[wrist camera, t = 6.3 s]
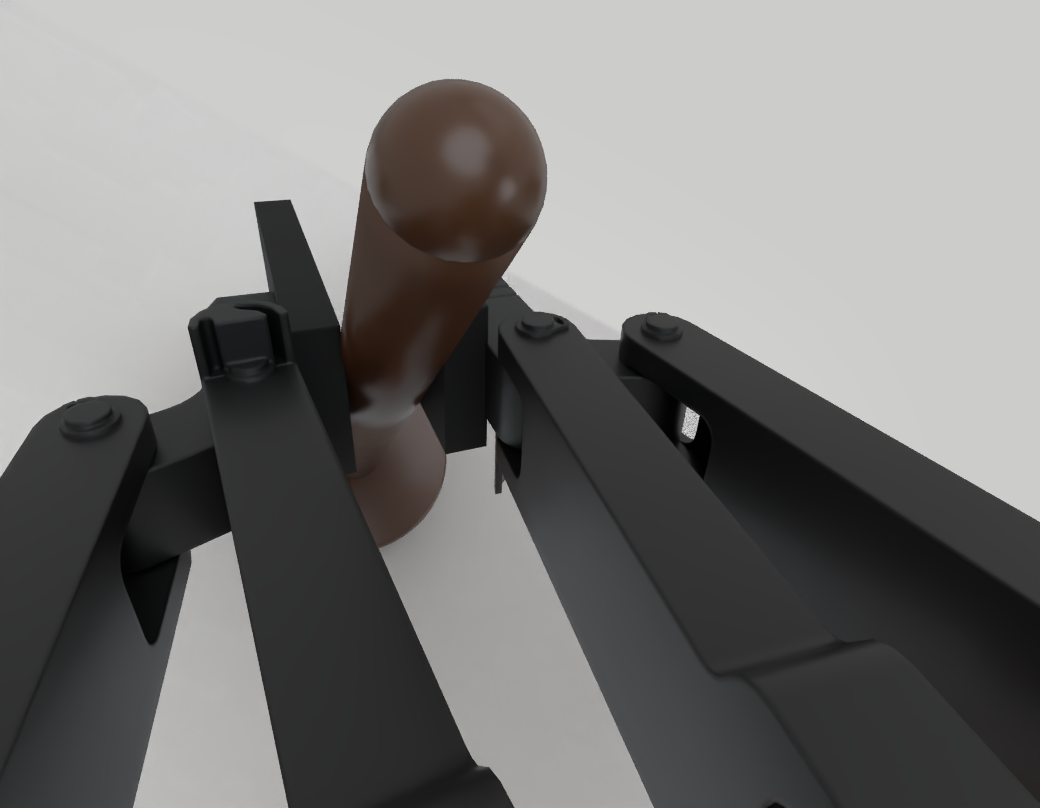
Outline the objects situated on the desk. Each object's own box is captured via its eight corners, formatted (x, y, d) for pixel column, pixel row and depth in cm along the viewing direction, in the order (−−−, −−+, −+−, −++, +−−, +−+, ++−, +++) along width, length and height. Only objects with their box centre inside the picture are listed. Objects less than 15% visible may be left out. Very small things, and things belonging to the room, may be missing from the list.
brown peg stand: (390, 355, 23) (600, -200, 7) (464, 504, 23) (890, 313, 6) (224, 422, 21) (-80, -135, 5) (301, 588, 21) (281, 642, 4)
